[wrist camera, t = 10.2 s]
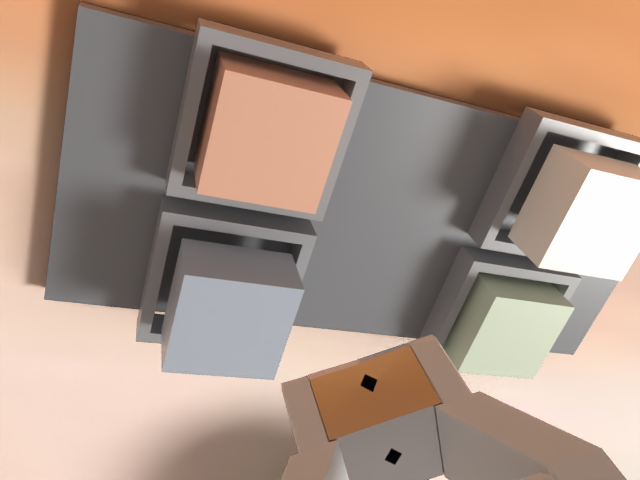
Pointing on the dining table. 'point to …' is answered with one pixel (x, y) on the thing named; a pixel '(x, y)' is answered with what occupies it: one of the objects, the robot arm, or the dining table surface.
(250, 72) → the terracotta key
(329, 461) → the robot arm
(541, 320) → the sage key
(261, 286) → the slate key
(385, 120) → the keypad base
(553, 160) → the cream key
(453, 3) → the dining table surface
